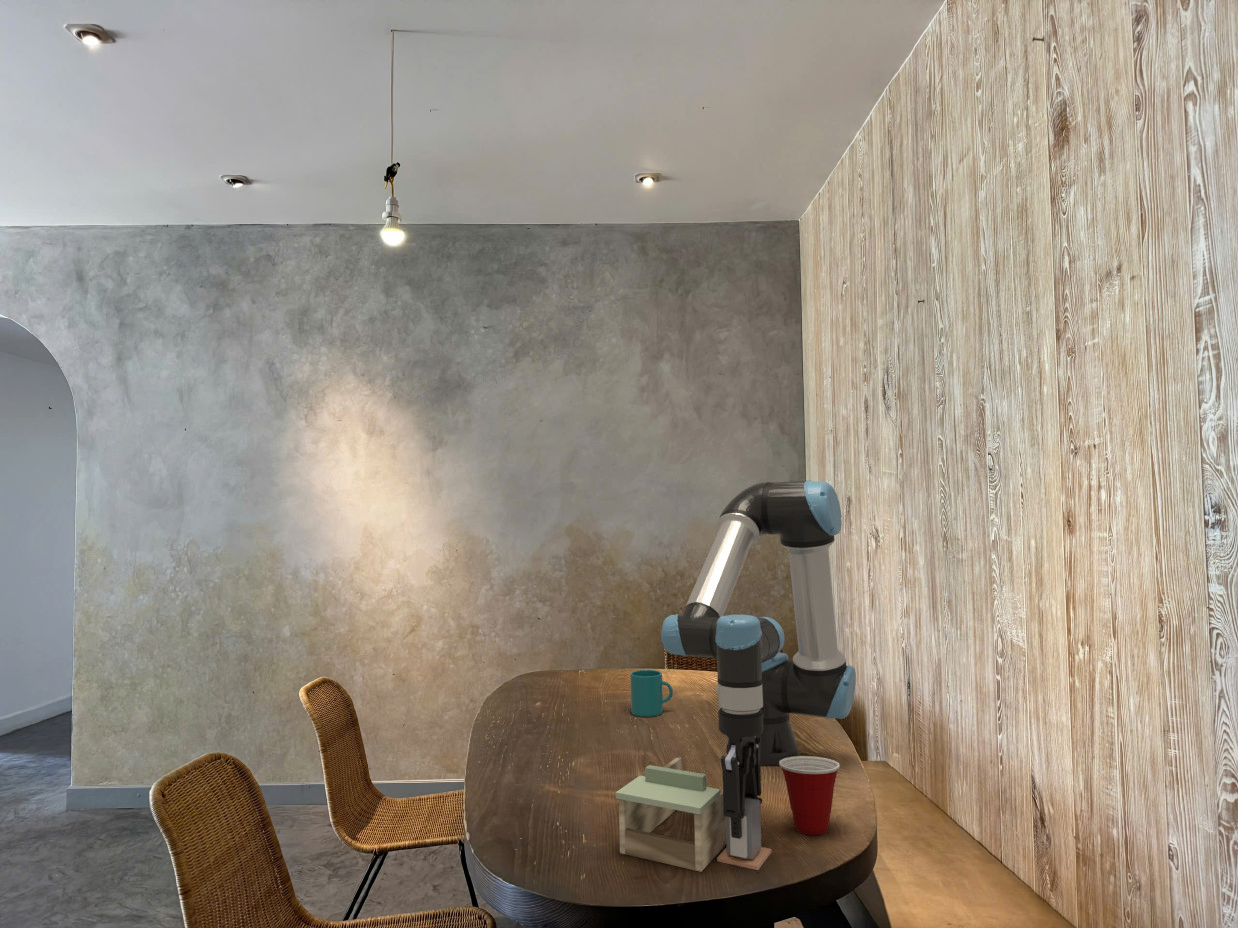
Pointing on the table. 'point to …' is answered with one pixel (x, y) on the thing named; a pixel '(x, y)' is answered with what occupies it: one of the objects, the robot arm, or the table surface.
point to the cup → (647, 693)
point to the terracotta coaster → (745, 859)
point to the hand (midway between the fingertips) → (744, 848)
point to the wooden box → (668, 850)
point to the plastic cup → (810, 791)
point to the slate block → (749, 828)
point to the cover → (670, 790)
